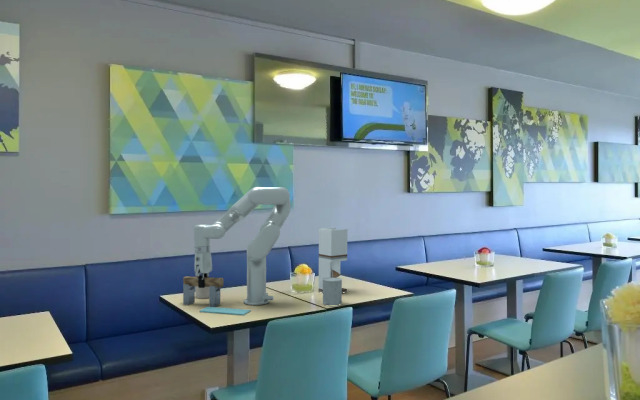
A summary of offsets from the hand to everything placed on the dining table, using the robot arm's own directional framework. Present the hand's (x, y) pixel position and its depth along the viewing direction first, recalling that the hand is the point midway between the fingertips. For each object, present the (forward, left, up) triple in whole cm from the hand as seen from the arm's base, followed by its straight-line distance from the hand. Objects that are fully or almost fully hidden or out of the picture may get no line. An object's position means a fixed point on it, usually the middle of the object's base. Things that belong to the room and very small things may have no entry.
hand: (203, 286), depth 247 cm
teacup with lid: (+9, -16, -9) cm, 20 cm away
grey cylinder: (-60, -19, -9) cm, 64 cm away
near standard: (-6, 0, -9) cm, 11 cm away
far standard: (+8, 0, -9) cm, 12 cm away
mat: (-16, +10, -9) cm, 21 cm away
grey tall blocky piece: (-54, -45, -9) cm, 71 cm away
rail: (0, 0, 0) cm, 0 cm away
